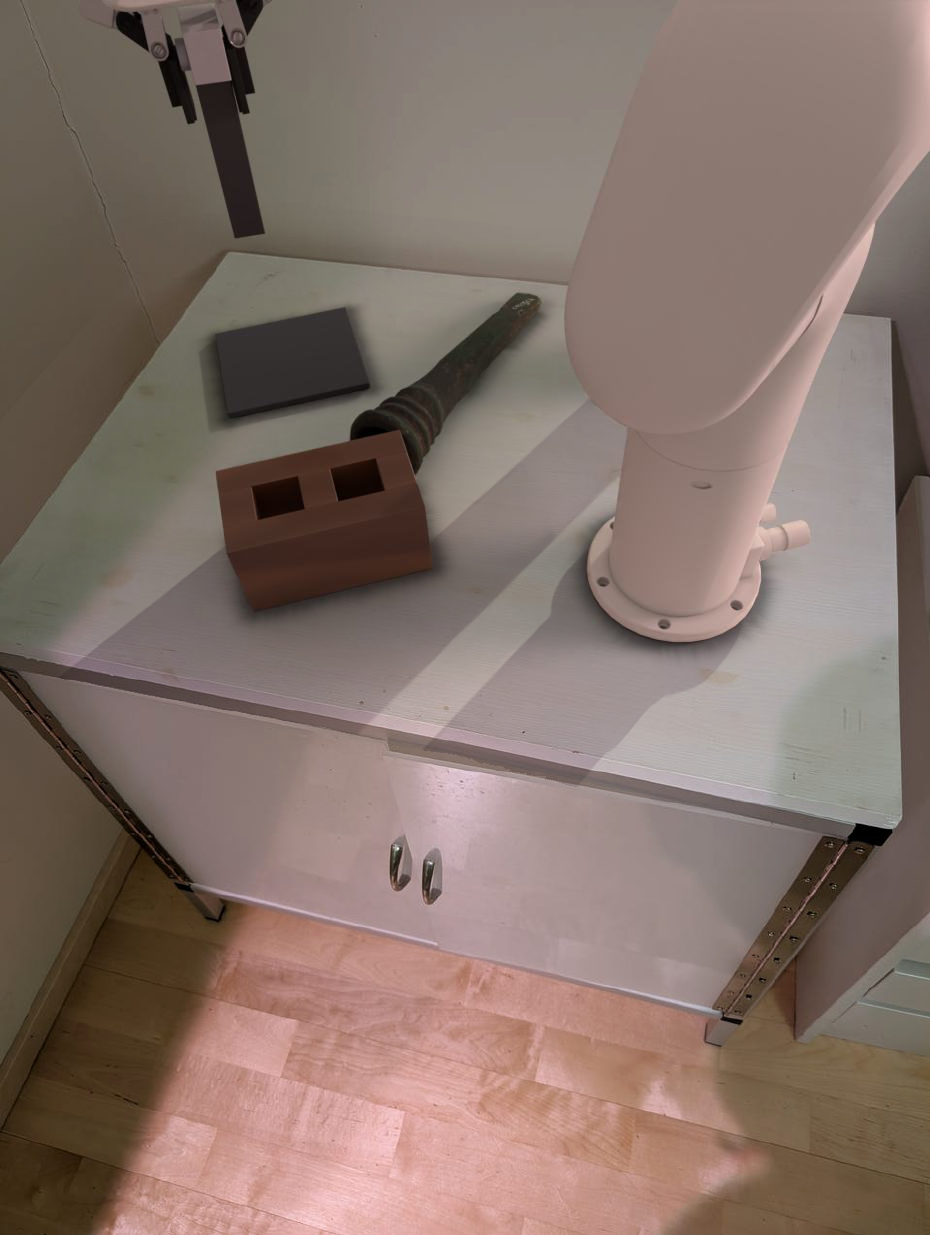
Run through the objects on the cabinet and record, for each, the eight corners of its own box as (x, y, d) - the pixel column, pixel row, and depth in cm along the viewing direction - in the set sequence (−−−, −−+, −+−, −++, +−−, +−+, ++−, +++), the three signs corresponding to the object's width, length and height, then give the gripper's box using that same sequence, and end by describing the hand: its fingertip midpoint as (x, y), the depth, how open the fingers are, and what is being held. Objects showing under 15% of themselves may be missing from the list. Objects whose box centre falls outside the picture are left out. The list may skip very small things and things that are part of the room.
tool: (413, 500, 68) (406, 440, 63) (351, 470, 71) (338, 410, 65) (578, 319, 81) (583, 255, 75) (520, 298, 83) (522, 235, 78)
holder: (240, 532, 67) (215, 470, 62) (409, 493, 69) (399, 429, 63) (252, 612, 63) (226, 553, 57) (433, 568, 64) (425, 506, 58)
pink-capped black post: (260, 214, 67) (213, 2, 55) (267, 243, 65) (220, 28, 53) (223, 220, 67) (167, 8, 55) (229, 250, 64) (172, 35, 53)
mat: (346, 311, 83) (345, 306, 83) (370, 387, 77) (369, 382, 76) (216, 338, 82) (214, 333, 81) (229, 418, 75) (227, 413, 75)
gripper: (-55, -230, 40) (100, 157, 56) (279, -272, 42) (341, 114, 57) (-43, -261, 45) (98, 107, 60) (260, -298, 46) (322, 68, 62)
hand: (216, 107), depth 58 cm, fingers closed on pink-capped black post, 3 cm apart
